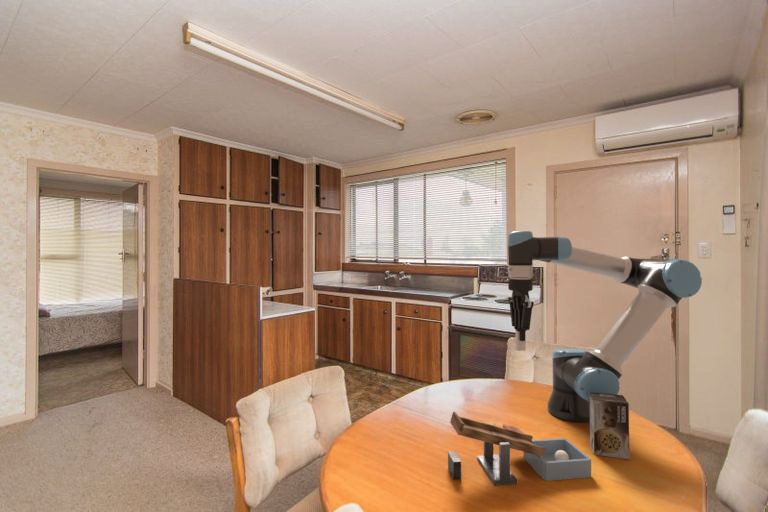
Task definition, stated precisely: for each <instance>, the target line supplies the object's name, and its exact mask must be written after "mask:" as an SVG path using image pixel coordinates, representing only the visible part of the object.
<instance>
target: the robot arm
mask: <svg viewBox="0 0 768 512" xmlns="http://www.w3.org/2000/svg"><path fill="white" fill-rule="evenodd" d="M507 238H508V241H507V250H508V251H507V252H508V253H507V255H508V256H507V257H508V259H507V260H508V265H507V266H508V267H507V272H508V277H509V279H508V280H507V281H508V282H507V284H508V287H507V289H508V290H509V291H511V292H512V293H511V297H507V299H508V304H509V309H510V310H509V312H510V320H511V327H513V328H514V330H515V351H518V352H519V351H520V352H521V351H522V352H523V351H524V352H525V351H526V349H527V347H526V331H529V330H530V328H531V320H532V314H533V313H532V312H533V308H534V303H535V302H534V301H531V299H530V294H529V292H531V291H533V289H534V287H533V286H534V284H533V283H534V281H533V279H532V278H533V277H534V275H533V274H534V273H533V271H534V270H533V269H534V267H533V266H534V264H533V261H538V262H539V261H540V262H544V263H549V264H552V265H558V266H561V267H566V268H570V269H573V270H577V271H582V272H587V273H591V274H594V275H597V276H599V275H600V276H603V277H605V278H606V277H607V278H612V279H614V281H616V282H617V283H620V284H624V285H628V286H630V287H633V288H636V289H637V290H638V293H637V295H636V296H635V298H634V299H633V300H632V302H631V303H630V304H629V305H628V307H627V308H626V309H625V311H624V312H623V313H622V315H620V317H619V318H618V320H617V321H616V322H615V324H614V325H613V326H612V327H611V329H610V330H609V331H608V332H607V334H606V335H605V336H604V338H603V339H602V341H600V343H598V345H597V347H596V348H595V349H592V350H591V349H589V350H584V349H579V348H577V349H576V348H558V349H554V350H553V352H552V359H551V360H552V391H551V393H550V396H549V400H548V402H547V411H548V413H550V414H551V415H552V416H554V417H556V418H559V419H561V420H565V421H569V422H575V423H586V422H590V392H592V393H604V394H614V395H619V393H620V390H621V388H620V379H621V377H622V376H623V372H622V367H623V365H624V364H625V363H626V362H627V360H628V359H629V358H630V356H631V355H632V354H633V353H634V351H635V350H636V349H637V347H638V346H639V344H641V342H643V340H644V338H646V336H647V334H649V332H650V331H651V329H652V328H653V327H654V325H655V324H656V323H657V322H658V321H659V319H660V318H661V317H662V315H663V314H664V312H666V311H667V309H669V308H676V307H677V305H678V304H679V303H680V301H681V300H682V299H683V298H684V299H685V298H690V297H691V298H692V297H693V296H694V295H696V294H697V293H698V292H699V291H700V289H701V288H702V283H703V282H702V279H703V277H702V276H701V271H700V269H699V268H698V267H697V266H696V265H695V264H694V263H692V262H691V261H688V260H686V259H685V260H684V259H679V258H671V259H669V258H665V259H664V258H635V257H630V256H629V257H628V256H622V257H616V256H612V255H607V254H604V253H600V252H595V251H591V250H587V249H583V248H578V247H575V246H573V245H572V241H571V240H570V238H569V237H565V236H564V237H563V236H562V237H561V236H553V237H552V236H550V237H549V236H545V237H542V236H541V237H537V236H534V235H533V231H531V230H527V231H526V230H521V231H520V230H518V231H511V232H510V233H509V234H508V237H507Z"/></svg>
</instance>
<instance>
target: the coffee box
mask: <svg viewBox="0 0 768 512" xmlns="http://www.w3.org/2000/svg"><path fill="white" fill-rule="evenodd" d="M629 409H630V404H629V402H628V401H627V399H626V397H625V396H624V395H622V394H618V395H614V394H604V393H592V392H590V421H589V446H590V448H591V450H592V453H593V455H595V456H603V457H608V458H616V459H621V460H622V459H623V460H624V459H625V460H630V459H631V458H630V456H631V455H630V415H629V414H630V412H629V411H630V410H629Z"/></svg>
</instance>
